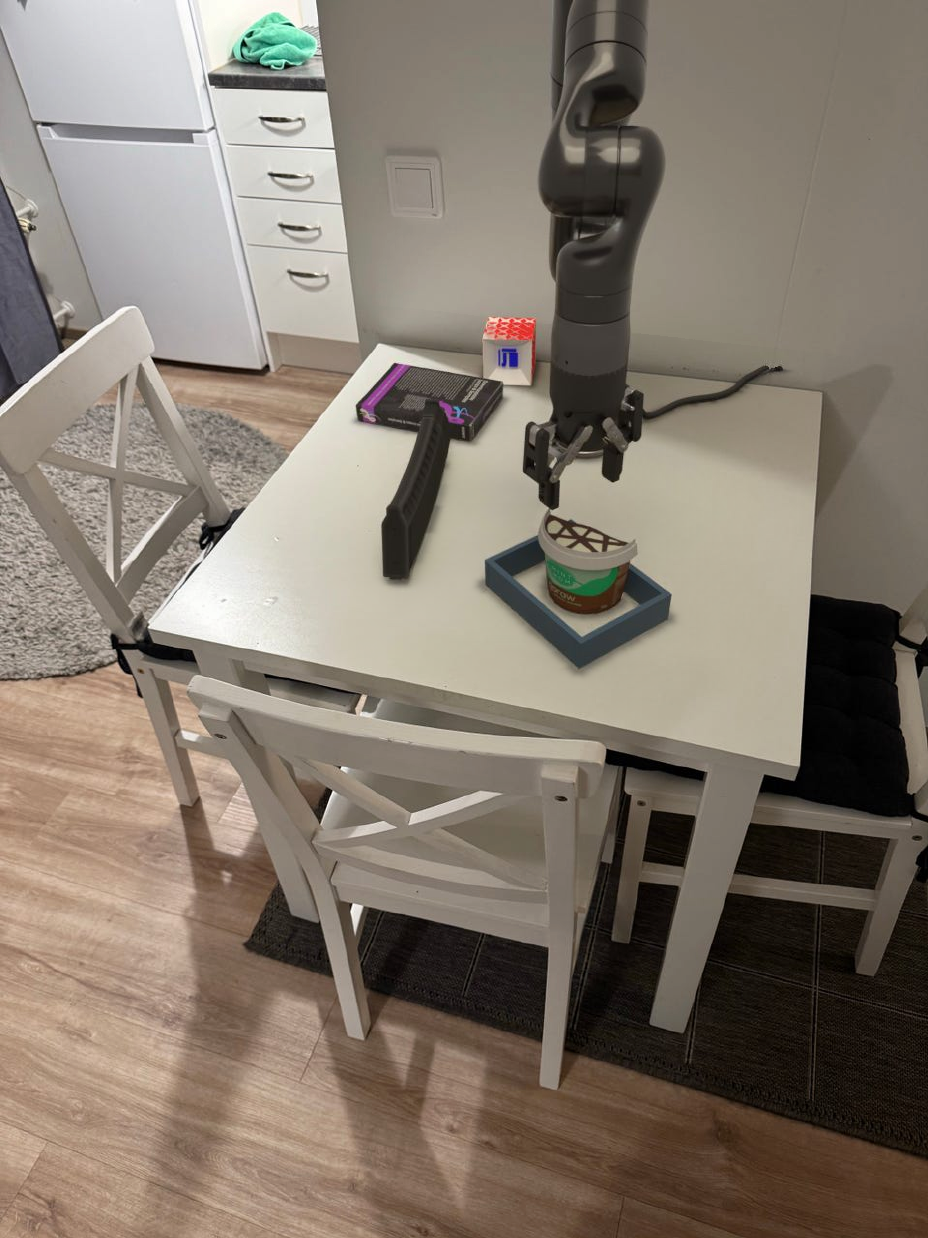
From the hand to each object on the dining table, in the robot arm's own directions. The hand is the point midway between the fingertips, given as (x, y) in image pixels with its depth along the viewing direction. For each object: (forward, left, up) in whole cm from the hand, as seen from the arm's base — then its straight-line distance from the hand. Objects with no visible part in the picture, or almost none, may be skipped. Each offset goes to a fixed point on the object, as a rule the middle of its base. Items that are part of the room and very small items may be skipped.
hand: (580, 491), depth 99 cm
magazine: (+5, -26, -16) cm, 31 cm away
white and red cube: (-28, -51, -16) cm, 60 cm away
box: (-11, -49, -16) cm, 52 cm away
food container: (0, 0, -16) cm, 16 cm away
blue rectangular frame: (0, 0, -16) cm, 16 cm away
